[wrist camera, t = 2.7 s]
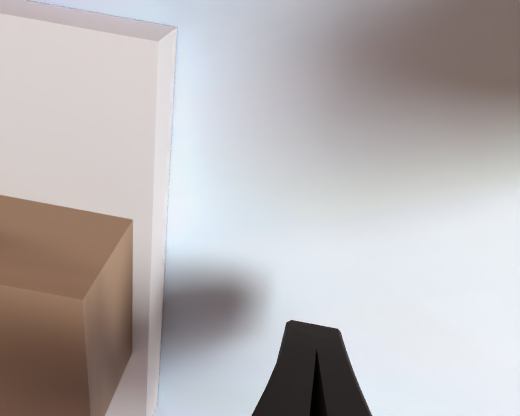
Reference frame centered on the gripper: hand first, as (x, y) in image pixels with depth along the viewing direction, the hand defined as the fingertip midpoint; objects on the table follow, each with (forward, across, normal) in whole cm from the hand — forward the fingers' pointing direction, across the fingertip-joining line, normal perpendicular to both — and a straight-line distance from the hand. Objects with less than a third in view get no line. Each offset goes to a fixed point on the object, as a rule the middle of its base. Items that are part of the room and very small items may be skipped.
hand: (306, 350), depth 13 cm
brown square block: (+1, +8, 0) cm, 8 cm away
